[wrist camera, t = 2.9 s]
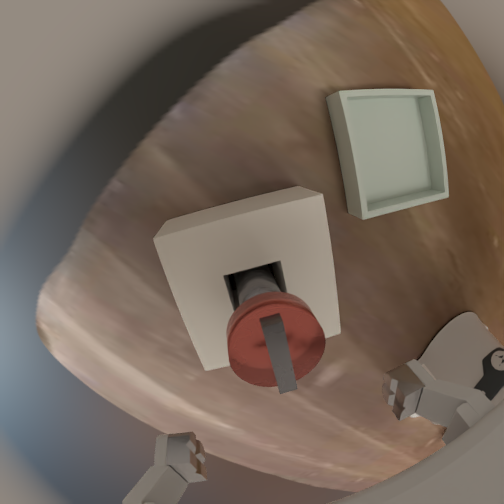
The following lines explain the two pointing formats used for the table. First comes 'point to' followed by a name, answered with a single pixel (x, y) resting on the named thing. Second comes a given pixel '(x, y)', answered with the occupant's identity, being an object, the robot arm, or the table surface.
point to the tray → (388, 149)
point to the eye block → (248, 261)
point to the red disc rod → (271, 333)
